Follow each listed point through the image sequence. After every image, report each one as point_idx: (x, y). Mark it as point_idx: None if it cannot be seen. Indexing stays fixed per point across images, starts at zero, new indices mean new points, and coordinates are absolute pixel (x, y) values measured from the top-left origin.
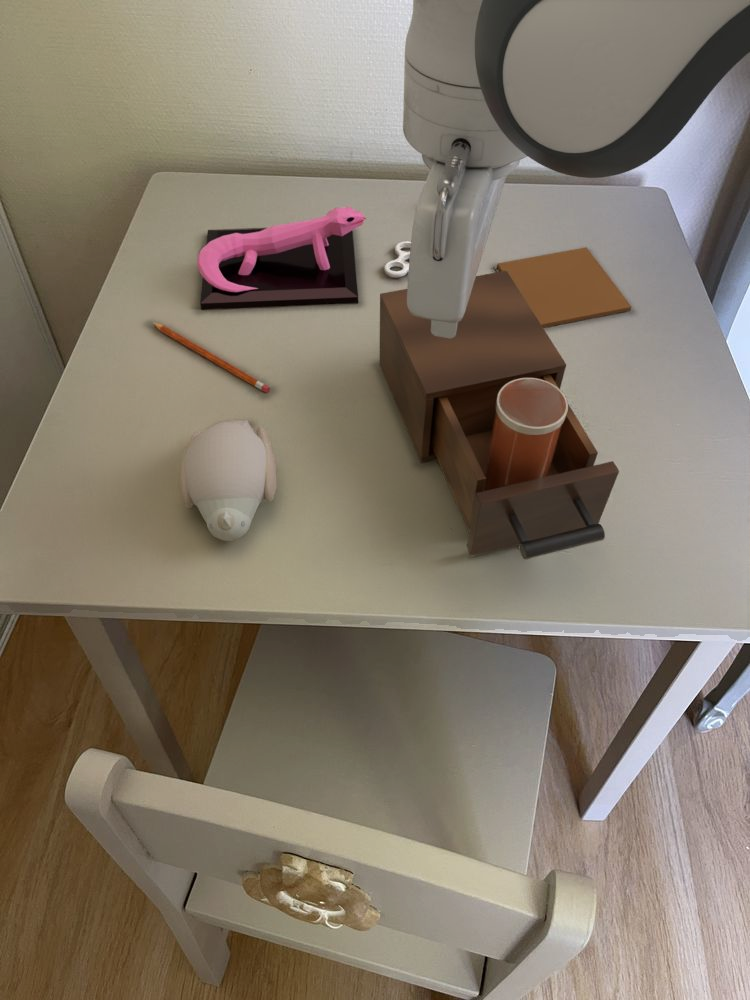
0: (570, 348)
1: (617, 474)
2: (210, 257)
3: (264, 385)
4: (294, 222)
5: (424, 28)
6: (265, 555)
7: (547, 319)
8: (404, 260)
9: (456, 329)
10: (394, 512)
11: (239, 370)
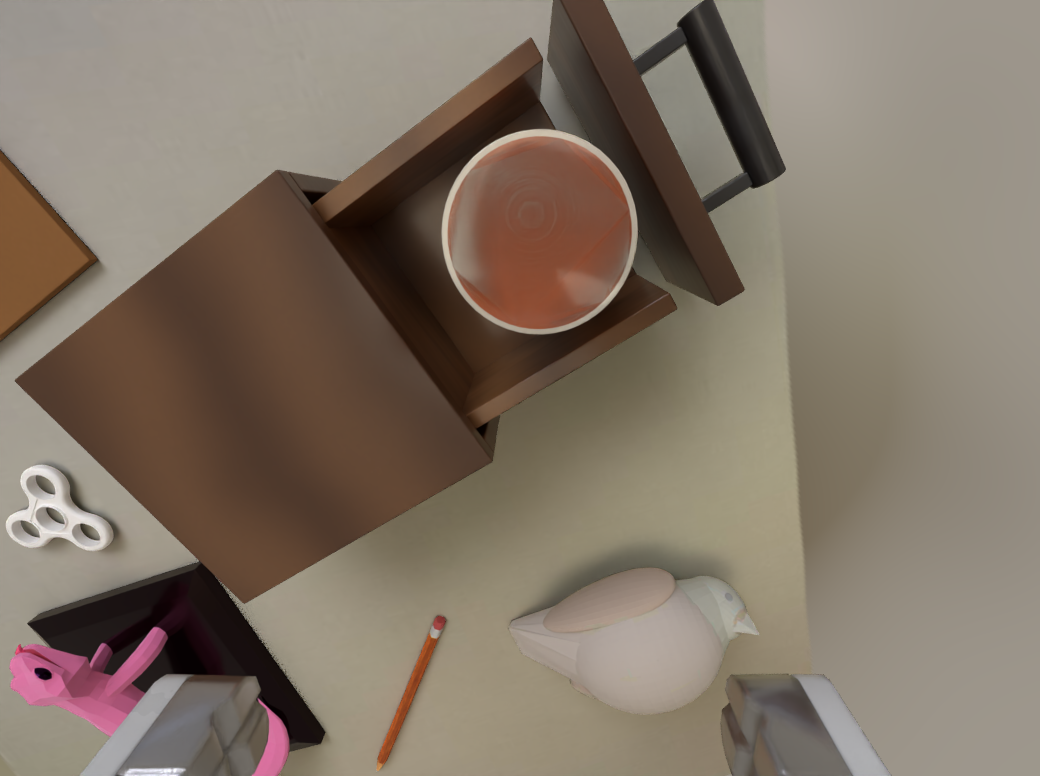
0: (112, 177)
1: None
2: None
3: (437, 628)
4: (104, 732)
5: None
6: (719, 536)
7: (59, 240)
8: (59, 523)
9: (829, 702)
10: (610, 400)
11: (421, 662)
